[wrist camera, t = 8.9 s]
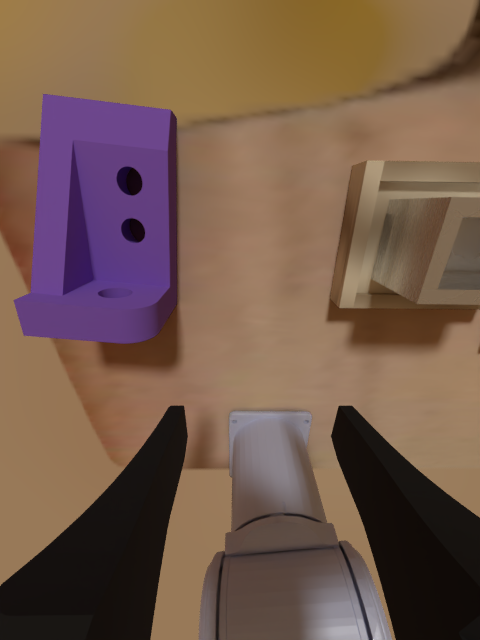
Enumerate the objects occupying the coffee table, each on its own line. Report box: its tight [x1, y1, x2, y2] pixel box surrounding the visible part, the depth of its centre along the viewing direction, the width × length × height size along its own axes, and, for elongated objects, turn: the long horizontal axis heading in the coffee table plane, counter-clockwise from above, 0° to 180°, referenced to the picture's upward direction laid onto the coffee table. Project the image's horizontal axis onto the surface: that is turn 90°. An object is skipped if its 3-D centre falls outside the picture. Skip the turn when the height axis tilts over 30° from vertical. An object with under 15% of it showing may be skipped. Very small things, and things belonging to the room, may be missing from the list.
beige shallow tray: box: [330, 161, 480, 309], centre depth 17 cm, size 9×12×2 cm
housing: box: [371, 197, 480, 305], centre depth 14 cm, size 5×8×5 cm, turn 89°
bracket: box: [14, 94, 177, 344], centre depth 15 cm, size 12×7×7 cm, turn 174°
